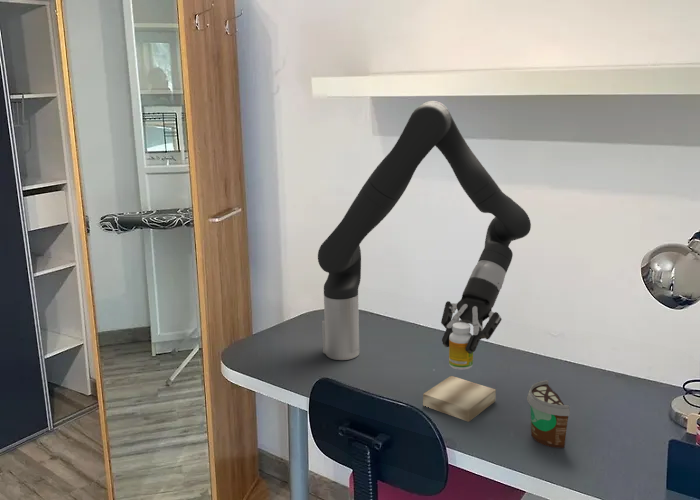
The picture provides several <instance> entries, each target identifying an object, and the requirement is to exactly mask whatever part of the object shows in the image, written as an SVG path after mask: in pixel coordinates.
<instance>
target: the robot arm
mask: <svg viewBox="0 0 700 500" xmlns="http://www.w3.org/2000/svg"><path fill="white" fill-rule="evenodd" d="M461 133H462V132H460V130H459V127H458V126H457V123H456V122H455V121H454V118H453V116H452V114H451V112H450V110H449V109H448V107H447V106H446V105H445V104H443V103H442V102H439V101H436V100H429V101H426V102H423V103H422V104H420V105H419V106H418V107H416V108H415V109H414V110H413V112H412V113H411V115H410V117H409V118H408V121H407V122H406V125H405V127H404V128H403V131H402V132H401V134H400V136H399V137H398V139H397V141H396V143H395V144H394V146H393V147H392V149H391V150H390V152H389V153H388V154H387V155H385V157H384V158H383V160H382V161H380V163H379V164H378V165H377V166H376V167H375V169H374V170H373V171H372V173H371V174H370V176H369V177H368V178H367V180H366V181H365V183H363V186H362V187H361V189H359V190H360V191H359V193H357V195H356V197H355V198H354V200H353V201H352V203H351V205H350V206H349V208H348V210H347V212H346V213H345V215H344V216H343V218H342V220H341V221H340V222H339V223H338V225H337V226H336V227H335V228H334V230H333V231H332V232H331V233H330V234H329V236H328V237H327V238H326V239H324V241H323V242H322V243H321V244H320V246H319V249H318V253H317V260H318V261H317V262H318V264H319V266H320V268H321V269H322V271H323V272H326V273H327V274H328V275H327V277H326V280H325V283H324V285H323V307H324V309H323V310H324V314H323V315H324V319H322V321H321V327H322V328H321V330H322V333H321V334H322V335H321V336H322V337H321V338H322V353H323V354H325V355H326V357H328V358H329V359H331V360H335V361H347V360H352V359H355V358H357V357H358V356H359V355H360V325H359V324H360V320H359V319H360V315H359V311H360V310H359V287H360V284H361V278H362V277H361V275H362V252H361V251H362V250H361V247H360V244H361V243H362V242H363V240H364V239H365V238H366V237H367V236H368V235H369V233H371V232H372V231H374V229H375V228H376V227H377V226H378V225H380V223H381V222H382V221H383V220H384V219H385V218H386V217H387V216H388V215H389V213H390V212H391V211H392V210H393V209H394V208H395V206H396V205H397V204H398V202H399V200H400V199H401V198H402V196H403V195H404V193H405V191H406V190H407V187H408V185H409V184H410V183H411V180H412V178H413V176H414V174H415V172H416V170H417V168H418V167H419V165H420V164H421V163H422V162H423V160H424V159H425V158H426V156H427V155H429V153H430V152H431V151H432V150H433V148H435V147H436V148H437V150H438V151H439V152H441V154H442V155H443V157H444V158H445V159H446V161H447V163H448V164H449V166H450V167H451V169H452V171H453V173H454V176H455V177H456V180H457V181H458V183H459V185H460V187H462V189H463V191H464V192H465V194H466V195H467V197H468V198H469V199H470V200H471V202H472V203H473V204H474V205H475V207H476V208H477V210H479V211H480V212H481V213H483V214H491V215H493V216H494V217H493V218H492V220H491V221H490V223H489V224H488V226H487V230H486V235H485V241H484V247H483V250H482V252H481V254H480V256H479V258H478V261H477V264H476V265H475V266H474V268H473V270H472V271H471V274H470V276H469V279H468V280H467V283H466V285H465V287H464V290H463V292H462V295H461V299H460V300H459V301H458V302H457V303H451V301H450V300H449V301H448V300H447V301H446V302H445V304H444V308H443V312H442V317H441V320H440V321H441V322H440V323H441V325H442V326H443V327H444V328H445V331H444V334H443V336H442V338H441V342H442V345H443V346H444V347H445V348H449V336H450V334H451V333H452V332H453V331H452V325H453V324H454V323H458V322H463V323H468V324H469V325H470V324H471V325H472V326H473V327H472V330H473V331H472V333H473V334H472V335H471V337H470V340H469V342H468V344H467V347H466V351H467V352H468V353H470V354H472V352H473V353H474V352H475V351H476V349H477V348H478V345H479V342H480V340H482V339H485V340H489V339H490V338H491V337H492V335H493V334H494V332H495V331H496V329H497V327H498V326H499V324H500V323H501V322H502V320H503V319H502V317H501V316H500V314H499V312H497V311H495V312H493V311H492V309H493V308H494V306H495V303H496V301H497V298H498V296H499V293H500V292H501V289H502V287H503V284H504V282H505V278H506V275H507V272H508V270H509V268H510V265H511V262H512V260H513V256H514V255H513V251H512V249H511V248H510V247H509V246H510V245H511V242H513V241H516V240H520V239H522V238H525V237H527V235H528V234H529V233H530V231H531V228H532V223H531V219H530V217H529V215H528V213H527V212H526V211H525V210H524V208H523V207H522V206H521V205H519V203H517V202H515V200H513V199H512V198H511V197H510V196H508V195H507V194H506V193H504V192H503V191H502V189H501V188H500V187H499V185H498V183H496V181H495V180H494V179H493V177H492V176H491V174H490V173H489V172H488V170H487V169H486V168H485V166H484V165H482V162H480V160H479V159H478V158H477V156H476V155H475V154H474V152H473V151H472V149H471V147H470V146H469V144H467V141H466V140H465V139H464V137H463V135H462V134H461ZM456 310H457V312H456ZM487 319H488V321H487V323H485V325H484V321H486V320H487Z"/></svg>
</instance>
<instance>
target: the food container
mask: <svg viewBox="0 0 700 500" xmlns="http://www.w3.org/2000/svg"><path fill="white" fill-rule="evenodd" d="M526 401H527V403H528V404H529V405H530V433H531V437H532V438H533V440H535V442H537V443H539V444H541V445H543V446H547V447H549V448H550V447H551V448H556V449H563V448H565V445H566V436H567V428H568V420H569V417H570V416H571V414H570V413H571V411H570V410H571V409H570V405H569V404H564V402H563V400H561V398H560V396H559V395H558V393H556V392H555V391H554V390H553V389H552V388H551V386H550V385H549V380H548V379H547V380H541V381H538V382H535V383H533V384H532V385H531V387H530V389H529V391H528V393H527V397H526Z"/></svg>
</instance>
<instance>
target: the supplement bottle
mask: <svg viewBox="0 0 700 500" xmlns="http://www.w3.org/2000/svg"><path fill="white" fill-rule="evenodd" d="M452 331H453V332H452V333H451V334H450V336H449V347H448V364H449V367H451V368H452V369H454V370H462V371H463V370H469V369H471V368H472V367H473V366H474V365H473V364H474V352H472V354H470V353H468V352H467V351H466V347H467V344H468V342H469V340H470V337H471V335H473V334H472V333H471V325H470V324H468V323H463V322H458V323H454V324H453V325H452Z"/></svg>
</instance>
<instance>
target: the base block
mask: <svg viewBox="0 0 700 500" xmlns="http://www.w3.org/2000/svg"><path fill="white" fill-rule="evenodd" d="M496 391H497V390H496V389H495V388H492V387H490V386H485V385H482V384H479V383H476V382H472V381H469V380H466V379H463V378H460V377H456V376H453V375H450V376H449V377H447V378H445V379H444V380H441V382H439V383H438V384H435V385H434V386H433V387H432V388H430V389H429V390H427V391H424V392H423V394H422V406H423V407H425V406H426V408H428V407H429V409H432V410H435V411H438V412H440V413H443V414H446V415H449V416H450V417H451V416H452V417H455V418H456V419H460V420H462V421H464V422H468V423H469V422H471V421H472V420H473V419H475V417H477V416H478V415H479V414H481V413H482V412H484V411H485V410H486V409H488V408H489V407H490V406H491V405H492V404H494V403H496V395H497V394H496V393H497V392H496Z"/></svg>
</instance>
